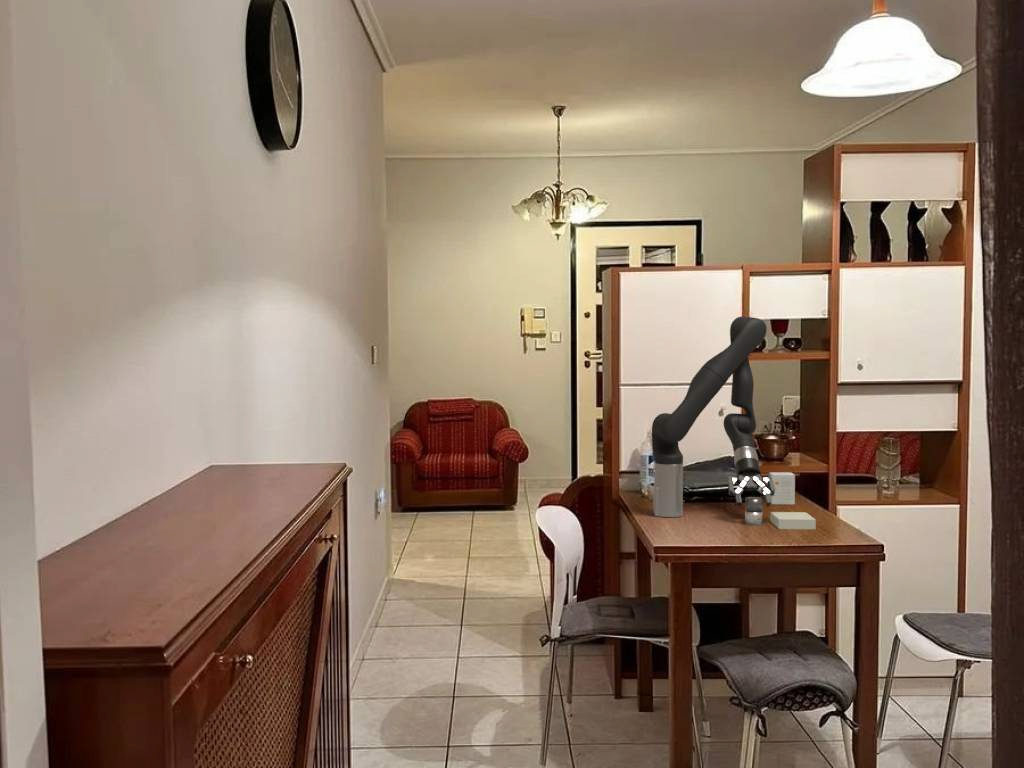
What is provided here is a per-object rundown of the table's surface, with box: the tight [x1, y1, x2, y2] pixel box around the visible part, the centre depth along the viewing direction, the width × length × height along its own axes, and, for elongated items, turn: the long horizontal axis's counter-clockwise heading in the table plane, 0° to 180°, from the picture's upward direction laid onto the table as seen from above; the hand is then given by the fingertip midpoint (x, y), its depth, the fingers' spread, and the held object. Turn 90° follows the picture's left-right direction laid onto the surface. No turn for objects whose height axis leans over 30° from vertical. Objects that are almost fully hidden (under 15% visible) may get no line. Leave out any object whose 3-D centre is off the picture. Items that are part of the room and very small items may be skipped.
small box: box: [768, 471, 796, 506], centre depth 317 cm, size 8×6×10 cm
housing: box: [744, 496, 764, 526], centre depth 283 cm, size 5×5×8 cm
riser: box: [769, 511, 817, 530], centre depth 281 cm, size 11×11×3 cm
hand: (754, 505), depth 283 cm, fingers open, 8 cm apart
